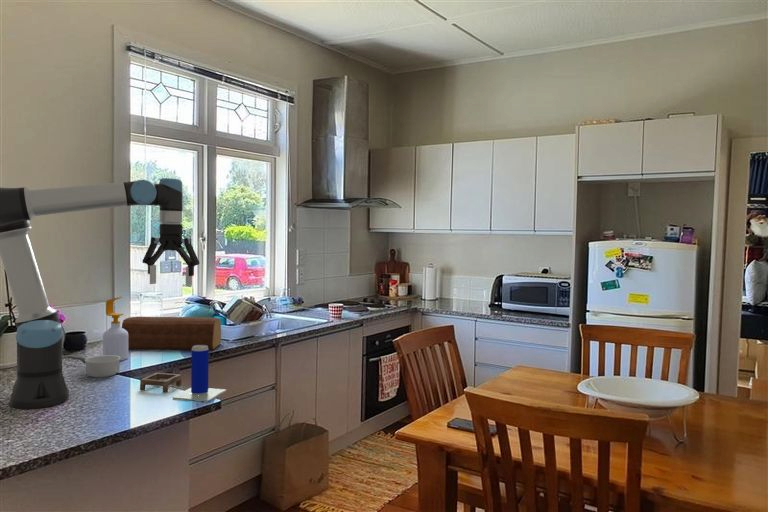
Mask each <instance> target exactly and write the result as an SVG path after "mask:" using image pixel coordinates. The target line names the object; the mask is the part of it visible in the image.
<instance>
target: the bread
mask: <svg viewBox="0 0 768 512" xmlns="http://www.w3.org/2000/svg"><path fill="white" fill-rule="evenodd" d="M121 328H123V329H125V330H126V331H127V332H128V350H147V351H148V350H149V351H151V350H152V351H153V350H154V351H155V350H156V351H158V350H159V351H160V350H161V351H165V350H166V351H192V347H193V346H195V345H207V346H208V349H209V351H214V350H215V349H216V348H217V347H218V346H219V345H221V343H222V321H221V318H219V317H218V318H217V317H199V316H198V317H197V316H194V317H193V316H131V317H126V318H125V319H123V320H122V323H121Z"/></svg>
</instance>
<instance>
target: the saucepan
mask: <svg viewBox="0 0 768 512" xmlns="http://www.w3.org/2000/svg"><path fill="white" fill-rule="evenodd" d="M120 358H121V357H119V356H114V355H103V354H102V355H96V356H92V357H87V358H86V357H83V356H82V357H81V356H73V355H67V356H66V359H72V360H77V361H80V362H82V363H83V364H85V375H87V376H89V377H91V378H92V377H93V378H106V377H110V376H114V375H115V374H117V373H119V372H120V361H119V359H120Z"/></svg>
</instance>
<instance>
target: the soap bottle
mask: <svg viewBox="0 0 768 512" xmlns="http://www.w3.org/2000/svg"><path fill="white" fill-rule="evenodd" d="M122 298H123V297H122V296H120V297H119V296H118V297H114V298H111V299H107V300H106V302H105V314H106V316H107V317H108V316H109V317H111V318H112V319H113V320H111V321H110V327H109V328H108V329H106V330H105V331H104V332H103V334H102V356H103V355H114V356H119V357H121V358H120V359H119V362H121V361H122V362H123V361H125V360H128V358H129V349H128V332H127V331H126V330H125V329H123V328H122V326H121V321H120V320H119V318H120V317H122V316H123V315H124V313H116V312H115V311H114V307H115V306H114V305H115V304H114V303H115V301H116V300H118V299H122Z"/></svg>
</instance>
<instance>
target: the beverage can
mask: <svg viewBox="0 0 768 512" xmlns="http://www.w3.org/2000/svg"><path fill="white" fill-rule="evenodd" d="M209 351H210V350H209V349H208V346H207V345H195V346H193V347H192V350H191V352H190V353H191V358H190V359H191V363H190V364H191V366H190V367H191V369H190V370H191V371H190V373H191V375H190V377H191V378H190V380H191V381H190V388H191V392H192V394H193V395H204V394H206V393H207V392H208V388H209V362H210V360H209V358H210V356H209V355H210V353H209Z"/></svg>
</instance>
